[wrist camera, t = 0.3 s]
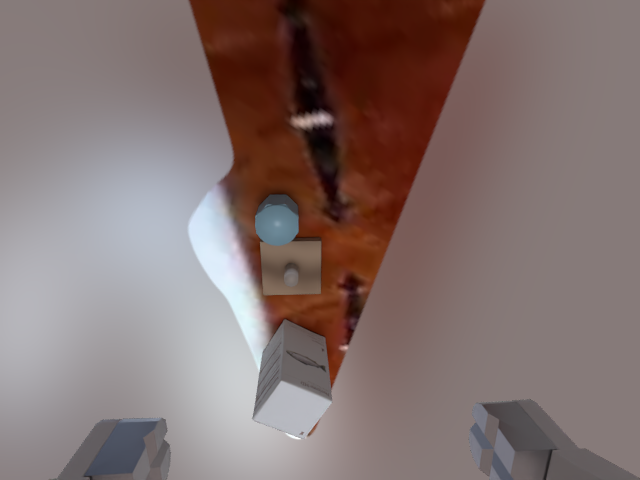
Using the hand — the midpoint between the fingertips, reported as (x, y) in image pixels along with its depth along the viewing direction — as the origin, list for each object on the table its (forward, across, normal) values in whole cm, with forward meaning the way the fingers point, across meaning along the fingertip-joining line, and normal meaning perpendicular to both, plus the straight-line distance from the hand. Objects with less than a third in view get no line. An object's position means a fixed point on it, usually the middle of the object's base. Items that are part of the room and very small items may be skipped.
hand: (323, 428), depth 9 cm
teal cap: (+37, +3, +2) cm, 38 cm away
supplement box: (+40, +2, +22) cm, 46 cm away
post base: (+38, +2, +9) cm, 39 cm away
